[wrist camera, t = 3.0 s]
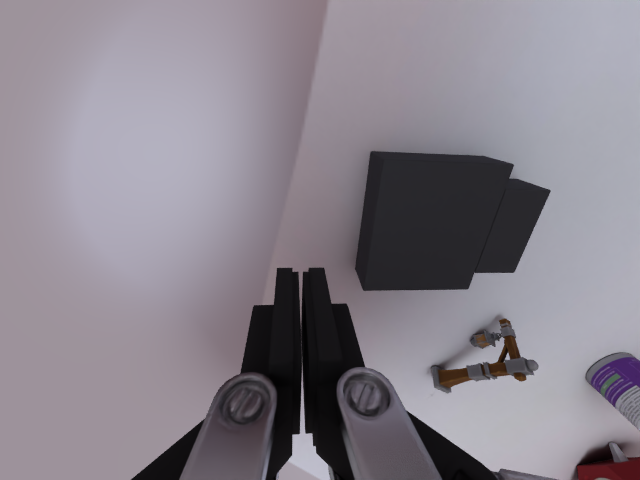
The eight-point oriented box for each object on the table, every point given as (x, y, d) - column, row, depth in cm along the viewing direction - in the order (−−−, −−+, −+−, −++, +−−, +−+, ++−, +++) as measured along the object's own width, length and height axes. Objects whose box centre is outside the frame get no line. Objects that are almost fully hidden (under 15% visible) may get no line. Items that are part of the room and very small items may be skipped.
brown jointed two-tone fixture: (525, 320, 21) (549, 381, 18) (440, 345, 27) (448, 396, 24) (511, 311, 21) (534, 372, 18) (428, 339, 26) (434, 390, 23)
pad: (370, 150, 15) (383, 159, 13) (525, 157, 16) (562, 166, 14) (354, 269, 19) (363, 291, 17) (483, 268, 20) (507, 289, 18)
